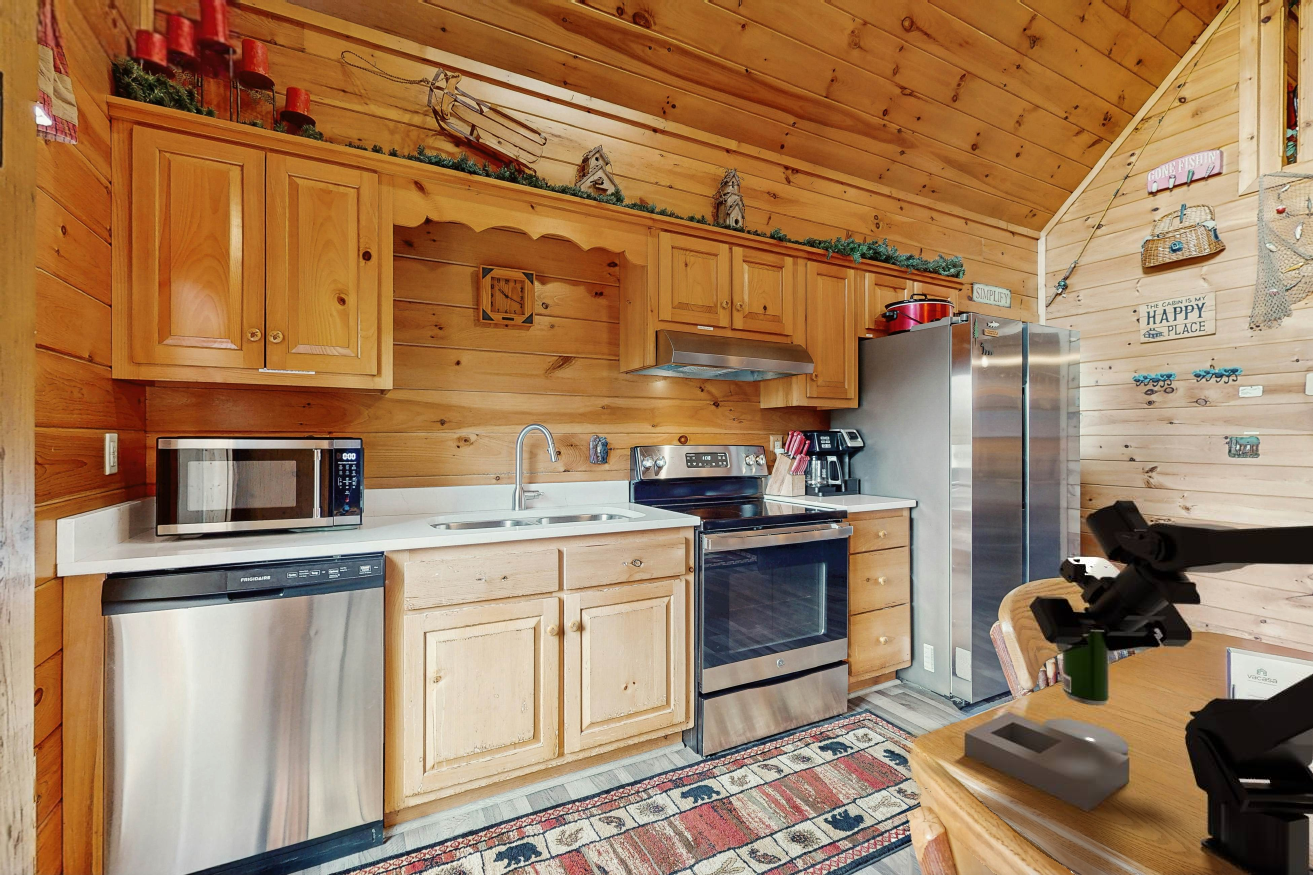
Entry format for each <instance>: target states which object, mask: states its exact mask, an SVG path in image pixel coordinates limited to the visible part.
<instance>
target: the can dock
mask: <svg viewBox="0 0 1313 875" xmlns="http://www.w3.org/2000/svg"><path fill="white" fill-rule="evenodd" d="M964 755H965V756H967V757H968V758H972V760H975V761H978V762H980V763H982V764H983V765H986V766H989V767H991V768H993V769H995V770H996V771H999V772H1001V773H1004V774H1006V775H1007V776H1010V777H1012V778H1015V779H1017V780H1018V781H1021V782H1023V783H1026V784H1027V785H1030V786H1032V787H1034V788H1036V789H1038V790H1040V791H1043V792H1044V793H1047V794H1049V795H1052V796H1053V797H1056V798H1058V799H1059V800H1062V801H1064V802H1066V803H1068V804H1071V805H1072V806H1075V807H1076V808H1079V809H1082V810H1083V811H1086V812H1089V811H1091V810H1092V809H1094V808H1095V807H1096V806H1098V805H1099V804H1100V803H1102V802H1103V801H1105V800H1106V799H1107V798H1108V797H1109V796H1112V794H1113V793H1115V792H1117V791H1118V790H1119V789H1120V788H1122V787H1123V786H1125V785H1126V784H1127V783H1128V782H1130V756H1127V755H1122V754H1120V753H1117V752H1114V751H1112V750H1109V749H1106V748H1104V747H1101V746H1098V745H1096V744H1093V743H1090V742H1088V741H1085V740H1082V739H1080V738H1077V737H1074V736H1072V735H1069V734H1066V733H1064V732H1061V731H1058V730H1056V729H1053V728H1050V727H1048V726H1045V725H1043V724H1042V723H1039V722H1037V721H1034V720H1032V719H1029V718H1026V717H1023V716H1021V715H1018V714H1016V713H1012V712H1010V711H1009V712H1006V713H1003V714H1001V715H999V716H998V717H995V718H994V719H991V720H989V721H987V722H984V723H982V724H980V725H978V726H976V727H974V728H971V729H969V730H967V731H965V732H964Z"/></svg>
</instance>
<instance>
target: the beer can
mask: <svg viewBox="0 0 1313 875" xmlns="http://www.w3.org/2000/svg"><path fill="white" fill-rule="evenodd" d="M1074 612H1081V611H1077V610H1074ZM1085 638H1086V640H1087V641H1088V643H1089V646H1086V647H1082V648H1077V649H1073V650H1069V651H1065V652H1062V690H1063V693H1064V695H1065V696H1066V698H1068V699H1069V700H1071V701H1073V702H1076V703H1078V704H1079V703H1080V704H1084V705H1088V706H1094V707H1095V706H1097V707H1100V706H1105V705H1107V703H1108V700H1109V697H1110V695H1109V694H1110V693H1109V692H1110V690H1109V688H1110V687H1109V683H1110V681H1109V680H1110V677H1109V675H1110V674H1109V672H1110V671H1109V670H1110V669H1109V667H1110V666H1109V665H1110V664H1109V661H1110V660H1109V656H1110V655H1109V653H1110V652H1109V641H1108V635H1106V633H1105V632H1104V631H1090V634H1089V635H1087V636H1085Z"/></svg>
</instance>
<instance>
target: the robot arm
mask: <svg viewBox="0 0 1313 875" xmlns="http://www.w3.org/2000/svg"><path fill="white" fill-rule="evenodd" d="M1141 513H1142V512H1140V510H1139V508H1138V506H1137V504H1136V503H1135V502H1134V500H1127V499H1126V500H1125V499H1117V500H1116V501H1115V502H1114V503H1113V504H1111V505H1107V506H1104V507H1100V508H1099V509H1097V510H1096V511H1094V512H1090V513H1089V514H1088V515H1087V517H1086V518H1085V522H1084V523H1085V526H1086V527H1087V529H1088V530H1089V531H1090V533H1091V535H1092V536H1093V538H1094V539H1095V541H1096V543H1097V544H1098V545H1099V547H1100V549H1101V550H1102V552H1103V553H1104V555H1105V557H1106V558H1107V559H1105V558H1102V557H1097V556H1096V557H1095V556H1094V557H1092V556H1076V557H1067V558H1066V559H1065V560H1064V561H1063V562H1061V563H1060V567H1059V569H1058V573H1059V575H1060V576H1061V577H1062V578H1063V579H1064V580H1065V581H1066V582H1067V583H1068V584H1076V585H1077V586H1078V587H1079V588H1080V589H1081V590H1082V591H1083V592H1081V594H1080V598H1081V599H1082V601H1083V602H1084V604H1088V605H1089V606H1085V607H1084V608H1083V611H1080V612H1074V611H1075V610H1074V608H1073V607H1072V605H1071V604H1070V601H1069V600H1068V599H1067V597H1063V596H1050V595H1049V596H1048V595H1047V596H1041V595H1037V596H1035V598H1034V599H1033V600H1032V601H1031V603H1030V604H1029V606H1028V607H1029V609H1030V611H1031V613H1032V614H1033V616H1034V619H1035V621H1036V623H1037V625H1038V627H1039V629H1040V631H1041V634H1042V635H1043V637H1044V640H1045V641H1047V642H1049V643H1050V644H1056V648H1057V650H1058V652H1060V653H1063V652H1065V651H1069V650H1073V649H1077V648H1082V647H1086V646H1089V643H1088V641H1087V640H1086V638H1085V636H1087V635H1089V634H1090V631H1104V632H1105V633H1106V635H1108V641H1109V653H1112V652H1113V653H1114V652H1123V651H1131V650H1144V649H1156V648H1159V647H1160V646H1161V645H1162V646H1163V647H1176V648H1177V647H1180V648H1183V647H1185V646H1186V645H1187V644H1188V643H1190V642H1191V641H1192V639H1193V630H1192V628H1190V626H1189V624H1188V623H1187V622H1186V620H1185V619H1184V617H1183V616H1182V615H1181V613H1180V612H1179V610H1178V609H1177V608H1176V606H1175V605H1193V606H1197V605H1200V604H1201V602H1202V600H1201V596H1200V593H1199V592H1198V590H1197V583H1196V582H1194V581H1191V580H1190V578H1189V577H1188V575H1187V574H1186V573H1198V574H1199V573H1200V574H1201V573H1204V574H1207V573H1208V574H1209V573H1210V574H1216V573H1223V572H1230V571H1235V570H1240V569H1241V570H1242V569H1243V568H1245V567H1247V566H1252V565H1253V566H1254V565H1306V566H1310V565H1313V525H1300V526H1299V525H1296V526H1278V527H1277V526H1275V527H1254V528H1252V527H1251V528H1238V527H1235V526H1228V525H1227V526H1226V525H1221V524H1213V523H1212V524H1211V523H1184V522H1181V523H1178V522H1154V523H1150V524H1149V523H1148V521H1147V520H1146V519H1145V518H1144V516H1143V515H1142V514H1141ZM1108 560H1109V561H1108ZM1110 561H1113V562H1117V563H1118V562H1119V563H1121V564H1124V565H1126V566H1124V567H1123V568H1122V570H1120V569H1118V568H1117V567H1116V566H1115V565H1113V564H1112V563H1111V562H1110ZM1158 630H1159V632H1160V634H1161V637H1160V638H1159V639H1158V638H1157V637H1156V636H1157V634H1158V633H1157V631H1158ZM1189 715H1191V716H1192V717H1193V718H1191V719H1190V720H1189V721H1187V723H1186V725H1185V727H1184V730H1185V735H1184V740H1185V748H1186V750H1187V755H1188V758H1189V761H1190V766H1191V769H1192V773H1193V776H1194V779H1195V783H1196V786H1197V788H1199V789H1201V790H1202V791H1204V792H1205V793H1206V795H1207V797H1206V798H1207V799H1206V801H1207V804H1206V805H1207V808H1206V809H1207V816H1206V818H1207V819H1206V821H1207V822H1206V823H1207V824H1206V825H1207V827H1206V828H1207V835H1208V836H1209V837H1207V838H1202V839H1200V843H1201V844H1200V845H1201V846H1202V847H1203V848H1205V849H1206V850H1208V851H1209V852H1212V853H1214V854H1215V855H1217V856H1219V857H1220V858H1222V859H1224V860H1225V861H1228V862H1229V863H1231V864H1233V865H1234V866H1236V867H1238V868H1240V869H1242V871H1245V872H1246V873H1247V874H1250V875H1313V867H1312V866H1310V816H1308V815H1313V771H1312V769H1311V768H1310V766H1311V765H1312V764H1313V673H1312V674H1310V675H1308V676H1306V677H1304V678H1303V679H1301V680H1299V681H1298V682H1295V683H1294V684H1292V685H1290V686H1288V687H1287V688H1285V689H1283V690H1281V691H1280V692H1278V693H1276V694H1274V695H1273V696H1271V697H1269V698H1267V699H1266V698H1265V699H1263V698H1262V699H1261V698H1260V699H1259V698H1233V697H1232V698H1229V697H1228V698H1227V697H1216V698H1214V699H1211V700H1209V701H1208V702H1207V703H1206V704H1205V705H1204V706H1203V707H1202V709H1198V710H1196V711H1195V710H1193V711H1192V710H1190V711H1189ZM1241 780H1256V781H1257V780H1258V781H1261V780H1263V781H1269V782H1255V781H1250V782H1249V781H1241Z"/></svg>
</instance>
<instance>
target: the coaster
mask: <svg viewBox="0 0 1313 875" xmlns="http://www.w3.org/2000/svg"><path fill="white" fill-rule="evenodd" d="M1042 725H1045V726H1048V727H1050V728H1053V729H1056V730H1058V731H1061V732H1064V733H1066V734H1069V735H1072V736H1074V737H1077V738H1080V739H1082V740H1085V741H1088V742H1090V743H1093V744H1096V745H1098V746H1101V747H1104V748H1106V749H1109V750H1112V751H1114V752H1117V753H1120V754H1122V755H1125V756H1127V755H1128V753H1129V750H1130V749H1129V744H1128V742H1127V740H1126V739H1125V738H1124V737H1122V736H1121V735H1119V734H1117V733H1115V732H1113V731H1112V730H1109V729H1107V728H1104V727H1102V726H1099V725H1096V724H1094V723H1089V722H1085V721H1081V720H1077V719H1072V718H1071V719H1069V718H1051V719H1050V718H1049V719H1047V720H1045V721H1044V722H1043V724H1042Z"/></svg>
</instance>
